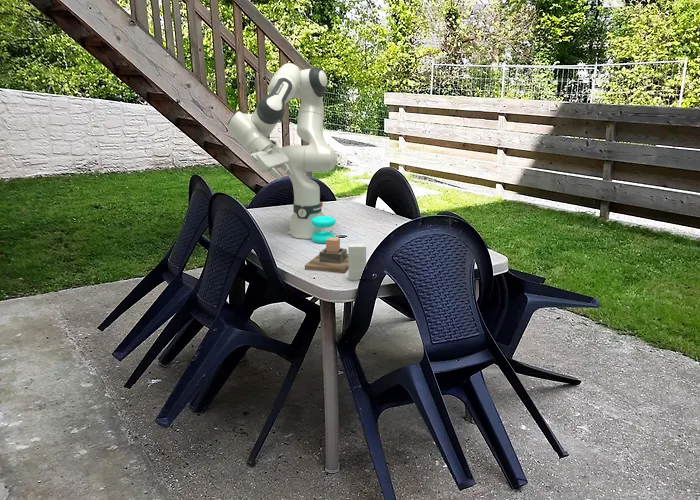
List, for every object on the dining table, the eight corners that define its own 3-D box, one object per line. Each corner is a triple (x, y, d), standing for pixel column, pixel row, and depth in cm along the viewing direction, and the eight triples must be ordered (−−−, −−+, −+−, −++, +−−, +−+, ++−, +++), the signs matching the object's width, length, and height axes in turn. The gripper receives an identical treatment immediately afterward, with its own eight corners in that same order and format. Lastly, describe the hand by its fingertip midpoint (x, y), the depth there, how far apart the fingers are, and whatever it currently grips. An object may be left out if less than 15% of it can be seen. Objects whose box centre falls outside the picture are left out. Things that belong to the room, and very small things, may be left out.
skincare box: (365, 276, 224) (365, 243, 221) (366, 280, 220) (366, 246, 217) (348, 276, 224) (348, 243, 220) (348, 280, 220) (348, 246, 216)
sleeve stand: (323, 254, 250) (323, 242, 248) (360, 258, 246) (360, 245, 244) (304, 269, 231) (304, 256, 230) (344, 273, 227) (344, 259, 226)
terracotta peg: (329, 257, 240) (329, 237, 238) (339, 258, 239) (339, 238, 237) (326, 260, 237) (326, 239, 235) (336, 261, 236) (336, 240, 233)
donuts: (315, 215, 273) (337, 216, 271) (315, 237, 276) (337, 238, 274) (308, 220, 264) (332, 221, 262) (309, 243, 266) (332, 244, 265)
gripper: (253, 146, 228) (279, 174, 228) (276, 140, 247) (300, 167, 246) (242, 158, 230) (268, 186, 230) (266, 151, 249) (290, 177, 249)
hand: (285, 176), depth 238 cm, fingers open, 8 cm apart
